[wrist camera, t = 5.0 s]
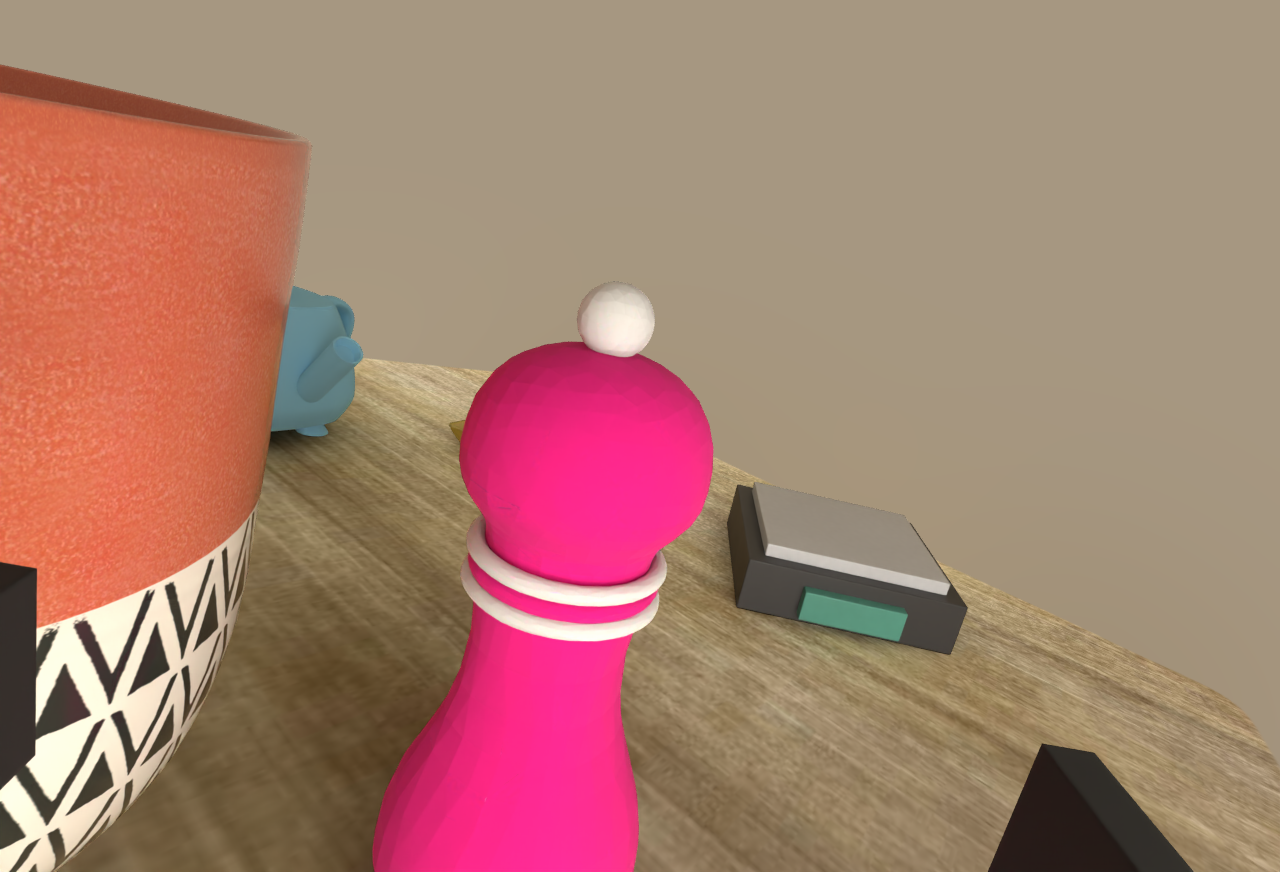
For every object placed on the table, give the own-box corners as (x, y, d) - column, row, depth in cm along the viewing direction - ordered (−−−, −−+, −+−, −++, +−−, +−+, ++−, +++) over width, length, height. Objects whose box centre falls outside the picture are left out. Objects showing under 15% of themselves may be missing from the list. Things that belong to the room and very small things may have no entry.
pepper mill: (296, 979, 22) (389, 240, 17) (461, 823, 29) (568, 250, 23) (515, 1145, 20) (713, 335, 14) (644, 932, 26) (815, 316, 21)
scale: (955, 662, 48) (977, 602, 47) (736, 613, 48) (754, 552, 47) (898, 561, 61) (914, 512, 60) (726, 523, 61) (739, 473, 60)
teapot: (91, 437, 52) (96, 257, 49) (176, 381, 65) (185, 236, 62) (343, 474, 55) (364, 307, 52) (377, 414, 68) (395, 277, 65)
